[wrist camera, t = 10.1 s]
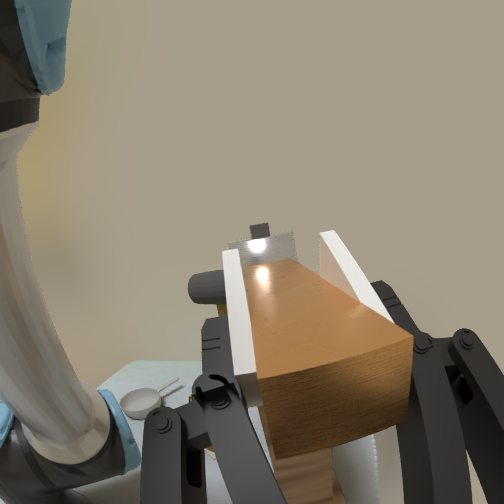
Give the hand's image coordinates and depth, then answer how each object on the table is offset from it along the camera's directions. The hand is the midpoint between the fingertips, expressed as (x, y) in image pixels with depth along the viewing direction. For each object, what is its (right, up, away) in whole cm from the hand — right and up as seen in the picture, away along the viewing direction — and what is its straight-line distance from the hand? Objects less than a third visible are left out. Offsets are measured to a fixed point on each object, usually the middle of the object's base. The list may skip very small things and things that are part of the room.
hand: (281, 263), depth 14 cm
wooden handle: (+1, -4, +3) cm, 5 cm away
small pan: (-26, -38, +46) cm, 64 cm away
